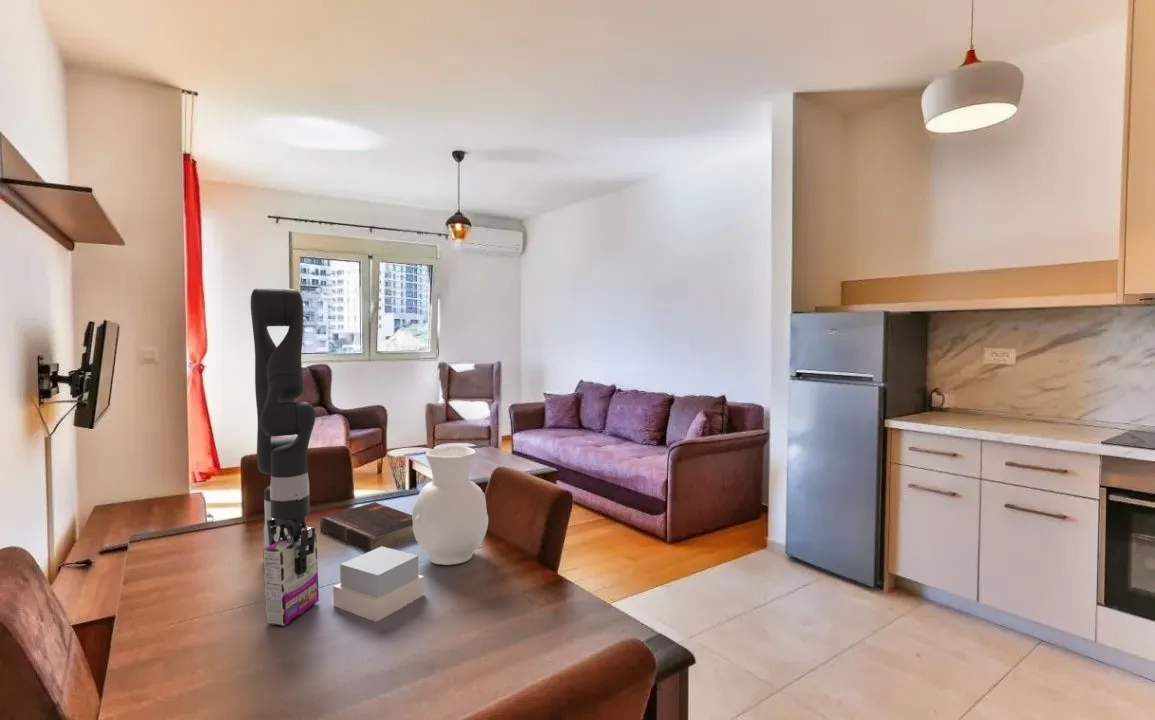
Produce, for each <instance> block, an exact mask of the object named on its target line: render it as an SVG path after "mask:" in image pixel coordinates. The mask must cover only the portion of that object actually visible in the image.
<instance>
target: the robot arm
mask: <svg viewBox="0 0 1155 720" xmlns="http://www.w3.org/2000/svg"><path fill="white" fill-rule="evenodd" d="M250 314H251V324H252V332H253V333H252V334H253V341H254V342H253V343H254V355H255V356H254V389H255V400H256V401H255V402H256V414H257V434H256V437H257V439H256V464H257V468H258V471H259V472H260V473H261V474H263V475H264V474H265V475H270V484H269V486H267V487H266V488H264V491H263V498H264V499H263V501H264V502H263V503H264V525H263V546H264V547H263V549H264V548H266V547H268V546H270V545H272V544H274V543H276V542H278V541H280V540H287V541H288V542H289V544H290V545H292V547H293V548H294V554H295V557H296V558H295V574H297V575H300V574H302V573H305V572H306V569H307V566H306V565H307V564H306V563H307V558H306V557H307V555H309V554H312V553H314V542H315V532H316V528H315V527H314V526H311V527H309V526H307V524H306V521H305V518H306V516H308V514H309V513H310V512H311V511H310V479H309V473H308V451H309V444H310V439H311V436H312V432H313V429H314V428H315V427H314V426H315V422H316V418H317V416H316V415H317V414H316V410H315V407H314V406H313V405H312V404H311V403H310V402H307V401H295V400H296V399H298V398H299V397H300V396H302V394H303V392H304V377H303V368H302V366H303V365H302V353H303V352H302V350H303V339H304V337H303V336H304V335H303V334H304V303H303V298H302V294H301V292H300V291H299V290H297V289H294V288H283V287H281V288H280V287H258V288H257V287H256V288H254V289H253V290H252V292H251V295H250ZM268 327H288V330H287V333H286V334H285V336H284V338H283V339H282V341H280V343H278V345H276V344H275V342H274V341H273V339H272V337H271V335H270V333H269V330H268ZM295 435H297V436H295ZM283 436H293V437H283ZM294 436H295V437H294ZM272 437H279V438H272ZM280 437H281V438H280ZM300 539H301V541H300V542H297V543H295V542H294V541H297V540H300ZM308 545H309V549H308V548H307V546H308ZM298 546H300V551H299V549H298Z"/></svg>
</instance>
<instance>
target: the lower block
mask: <svg viewBox="0 0 1155 720" xmlns="http://www.w3.org/2000/svg"><path fill="white" fill-rule="evenodd" d="M332 587H333V590H332V591H333V593H332V594H333V598H332V599H333V607H335V608H338V609H341V610H343V611H345V612H349V613H351V614H354V615H357V616H358V617H362V618H365V619H367V620H369V621H372V622H375V623H377V622H379V621H381V620H383V619H384V618H386V617H388V616H390V615H391V614H393V613H396V611H399V610H400V609H402V608H404V607H406V606H408V605H409V603H410V604H411V603H414V602H415V601H417V600H418V598H419V597H420V598H422V597H424V596H425V576H424V575H421V574H419V577H417V578H415V579H413V580H411V581H409V582H407V583H405V584H404V585H402V586H400V587H398V588H396V589H394V590H392V591H390V592H388V593H387V594H385V595H383V596H381V597H379V598H377V597H374V596H371V595H367V594H364V593H361V592H358V591H355V590H352V589H349V588H346V587H343V586H341V582H339V583H337V584H334V585H333V586H332ZM423 595H424V596H423ZM421 596H422V597H421ZM420 598H419V599H420ZM416 599H417V600H416ZM414 600H415V601H414ZM407 604H408V605H407Z"/></svg>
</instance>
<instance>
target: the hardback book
mask: <svg viewBox="0 0 1155 720" xmlns="http://www.w3.org/2000/svg"><path fill="white" fill-rule="evenodd" d="M319 522H320V524H319V525H320V526H319V527H320V531H321V532H324V533H326V534H328V535H330V536H333V537H335V538H337V539H339V540H342V541H344V542H345V543H348V544H350V545H352V546H354V547H356V548H358V549H361V550H363V551H365V552H366V553H367V552H370V551H372V550H374V549H377V548H379V547H381V546H383V547H387V548H390V549H391V548H392V547H395V546H399V545H401V544H404V543H408V542H410V541H413V540H416V539H415V536H414V533H413V519H412V514H409V513H407V512H404V511H401V510H398V509H395V508H393V507H390V506H387V505H384V504H380V503H378V502H375V501H374V502H370V503H367V504H363V505H360V506H357V507H352V508H349V509H346V510H343V511H338V512H335V513H331V514H328V515H324V516H321V517H320V520H319Z"/></svg>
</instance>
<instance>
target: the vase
mask: <svg viewBox="0 0 1155 720" xmlns="http://www.w3.org/2000/svg"><path fill="white" fill-rule="evenodd" d="M425 456H426V460H427V463H428V464H429V467H430V469H431V475H432V479H431V481H429V482H428V483H427V484H425V485H424V486H423V488H422V489H421V491H420V492H419V494H418V495H417V497H416V500H415V503H414V505H413V507H412V512H411V513H412V514H411V515H412V519H413V533H414V536H415V539H414V540H415V541H416V542H417V543H418V544H419V546H420V547H421V549H424V550H425V551H427V552H428V554H429V556H428V560H429V561H430V562H431V563H432V564H435V565H444V566H451V565H459V564H463V563H465V562H467V561H469V560H471V559H472V557H473V553H474V552H475V551H476V550H477V549H478V548H479V546H480V545H481V543H482V541H483V540H484V538H485V536H486V534H487V530H488V526H489V515H488V509H487V502H486V495H485V493H484V491H483V490H482V488H481V487H480V486H479V485H478V484H476V482H474V481H472V480H471V479H469V477H470V472H471V467H472V465H473V462H474V460H475V459H476V456H477V451H476V450H475V449H474V448H471V447H469V446H463V445H451V446H449V445H448V446H445V447H437V448H435V447H434V448H431V449H429V450H427V451H426V453H425Z"/></svg>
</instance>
